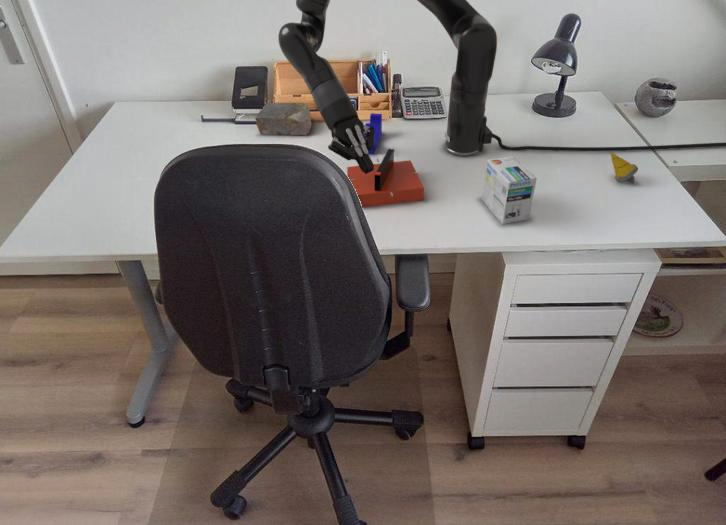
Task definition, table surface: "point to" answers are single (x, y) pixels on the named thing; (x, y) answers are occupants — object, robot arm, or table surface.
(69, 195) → the table surface
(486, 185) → the light bulb box
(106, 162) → the table surface
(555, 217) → the table surface
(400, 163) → the red flat rectangular block
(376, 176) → the black divider wall
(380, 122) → the cable clip
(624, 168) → the yellow cone
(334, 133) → the robot arm
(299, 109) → the geological specimen
